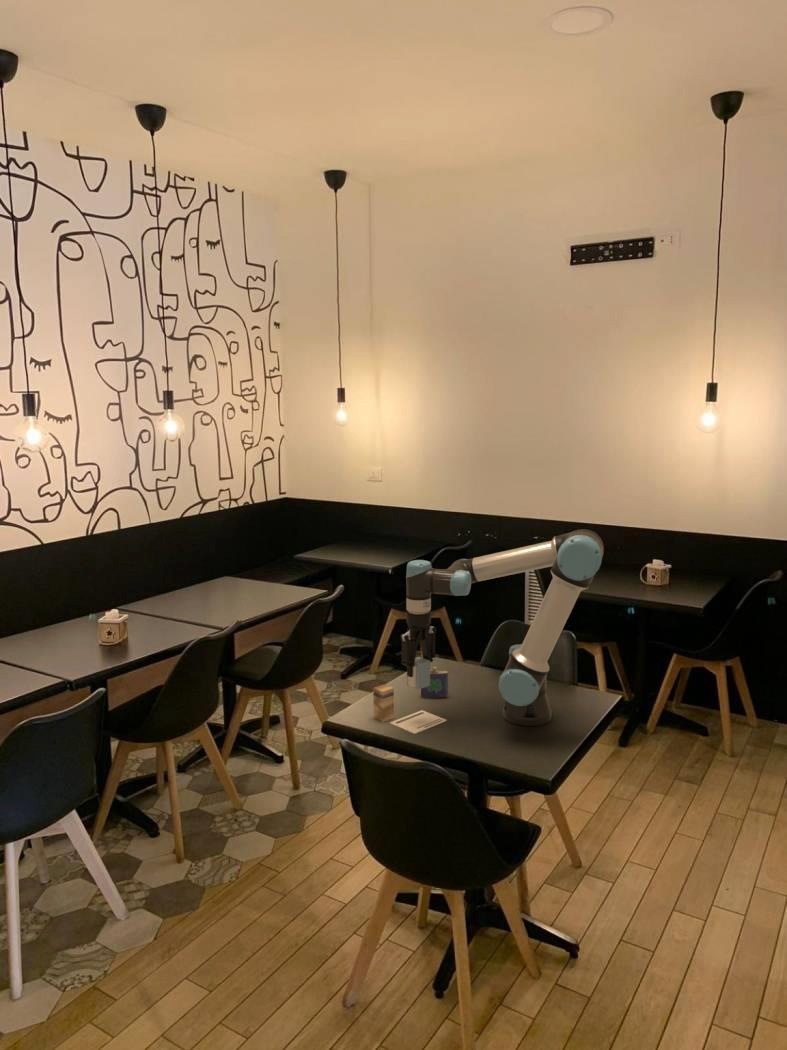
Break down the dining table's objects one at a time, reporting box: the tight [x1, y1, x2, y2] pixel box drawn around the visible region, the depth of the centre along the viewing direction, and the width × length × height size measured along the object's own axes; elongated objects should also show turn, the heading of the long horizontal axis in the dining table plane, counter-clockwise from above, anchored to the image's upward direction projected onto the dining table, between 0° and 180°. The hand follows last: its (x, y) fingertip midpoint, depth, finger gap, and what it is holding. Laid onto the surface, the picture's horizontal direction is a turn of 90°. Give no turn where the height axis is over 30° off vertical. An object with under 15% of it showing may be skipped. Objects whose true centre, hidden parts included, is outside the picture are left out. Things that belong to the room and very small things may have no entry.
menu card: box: [389, 709, 448, 735], centre depth 246 cm, size 11×14×1 cm
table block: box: [372, 684, 395, 723], centre depth 249 cm, size 4×4×10 cm
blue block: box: [406, 656, 431, 690], centre depth 244 cm, size 5×5×8 cm
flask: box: [420, 666, 449, 700], centre depth 266 cm, size 9×3×11 cm, turn 88°
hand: (418, 683), depth 245 cm, fingers closed on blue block, 5 cm apart
